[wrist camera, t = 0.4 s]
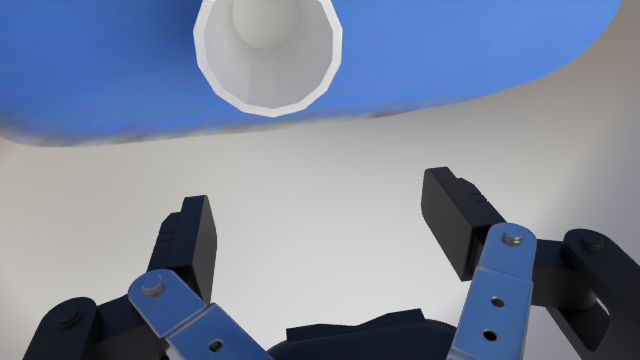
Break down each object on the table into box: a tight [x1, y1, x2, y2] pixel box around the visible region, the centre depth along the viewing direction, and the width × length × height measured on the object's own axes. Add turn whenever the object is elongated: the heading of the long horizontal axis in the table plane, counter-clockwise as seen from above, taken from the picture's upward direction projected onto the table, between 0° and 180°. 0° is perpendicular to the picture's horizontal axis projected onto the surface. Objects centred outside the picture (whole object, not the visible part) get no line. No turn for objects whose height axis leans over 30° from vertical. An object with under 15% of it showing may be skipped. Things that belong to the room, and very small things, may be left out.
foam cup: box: [193, 0, 342, 117], centre depth 31 cm, size 10×9×13 cm
